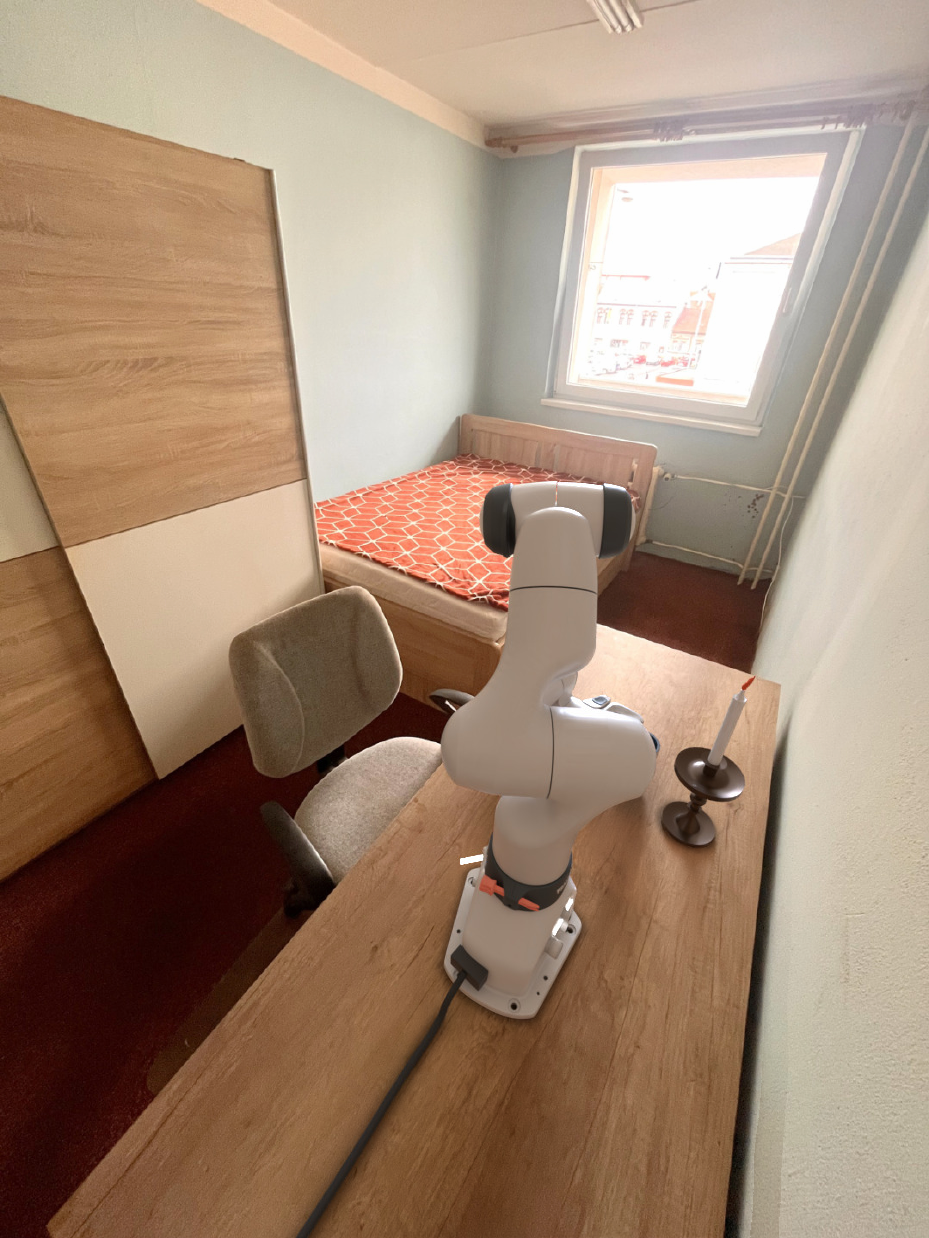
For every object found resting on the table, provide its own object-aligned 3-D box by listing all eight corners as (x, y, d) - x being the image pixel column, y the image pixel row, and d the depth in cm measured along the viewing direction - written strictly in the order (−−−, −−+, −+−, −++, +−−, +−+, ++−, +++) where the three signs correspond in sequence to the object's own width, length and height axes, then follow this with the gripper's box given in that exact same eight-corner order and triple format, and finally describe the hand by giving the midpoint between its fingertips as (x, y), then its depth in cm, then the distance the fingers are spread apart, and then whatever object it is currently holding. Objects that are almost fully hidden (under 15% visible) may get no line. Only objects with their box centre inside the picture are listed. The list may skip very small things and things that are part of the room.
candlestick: (727, 824, 93) (800, 673, 74) (706, 864, 86) (780, 709, 67) (670, 790, 99) (724, 643, 80) (645, 826, 92) (698, 674, 73)
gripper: (549, 738, 95) (613, 781, 87) (609, 691, 108) (669, 725, 99) (545, 761, 99) (606, 805, 91) (603, 713, 111) (662, 747, 103)
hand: (640, 762), depth 95 cm, fingers closed on cup, 6 cm apart
